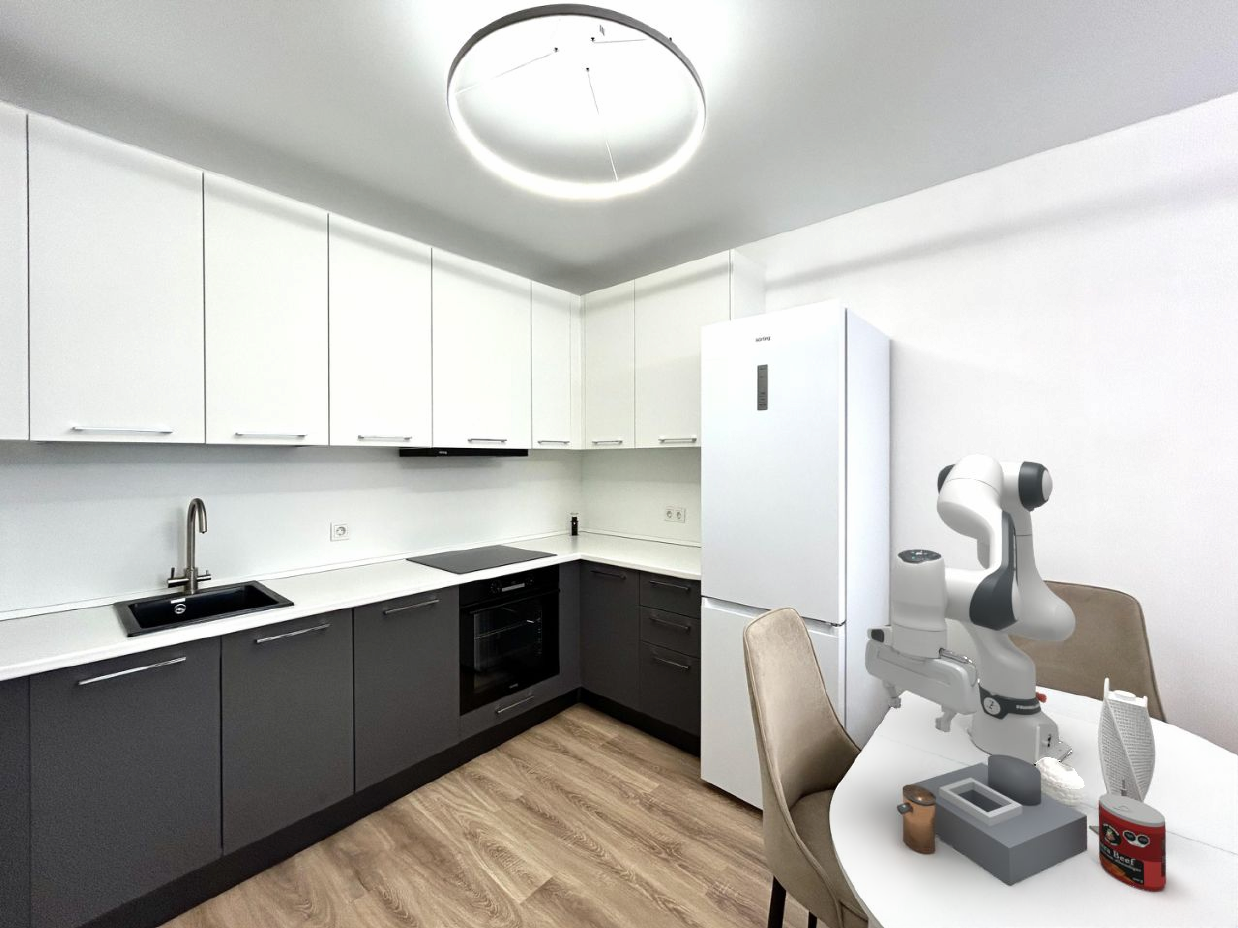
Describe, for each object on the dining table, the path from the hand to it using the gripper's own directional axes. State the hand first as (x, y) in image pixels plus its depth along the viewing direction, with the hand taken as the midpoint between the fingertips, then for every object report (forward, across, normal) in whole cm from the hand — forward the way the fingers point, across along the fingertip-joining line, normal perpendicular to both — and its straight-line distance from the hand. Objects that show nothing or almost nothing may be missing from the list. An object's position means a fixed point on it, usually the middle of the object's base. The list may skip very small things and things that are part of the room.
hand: (917, 717), depth 92 cm
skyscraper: (+22, -13, -37) cm, 45 cm away
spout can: (+22, 0, +1) cm, 22 cm away
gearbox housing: (+22, -3, -16) cm, 28 cm away
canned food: (+22, -18, -28) cm, 40 cm away
